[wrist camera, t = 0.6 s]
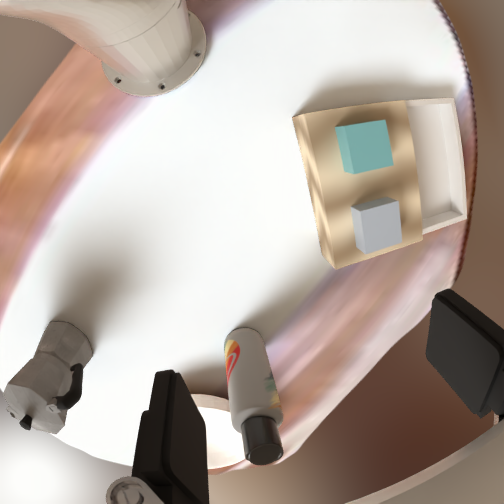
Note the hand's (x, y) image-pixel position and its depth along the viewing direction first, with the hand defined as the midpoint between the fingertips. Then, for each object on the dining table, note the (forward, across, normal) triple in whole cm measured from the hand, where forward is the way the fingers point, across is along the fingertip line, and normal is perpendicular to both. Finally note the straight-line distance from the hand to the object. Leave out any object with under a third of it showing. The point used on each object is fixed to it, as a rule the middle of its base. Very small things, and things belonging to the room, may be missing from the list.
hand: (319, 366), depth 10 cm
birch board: (+28, -15, 0) cm, 32 cm away
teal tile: (+24, -14, -5) cm, 28 cm away
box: (+28, -27, -1) cm, 39 cm away
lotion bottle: (+29, +4, +19) cm, 35 cm away
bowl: (+29, +16, +34) cm, 47 cm away
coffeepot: (+29, +31, +14) cm, 44 cm away
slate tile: (+24, -14, +4) cm, 28 cm away
